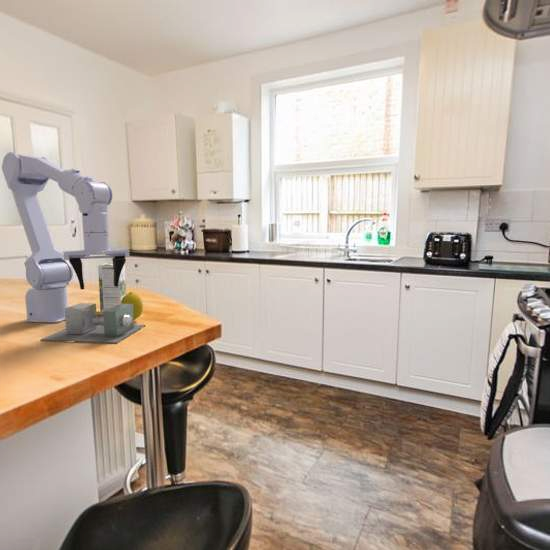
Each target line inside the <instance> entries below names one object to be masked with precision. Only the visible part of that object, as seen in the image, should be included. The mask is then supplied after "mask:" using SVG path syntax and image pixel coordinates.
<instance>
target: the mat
mask: <svg viewBox="0 0 550 550" xmlns="http://www.w3.org/2000/svg"><path fill="white" fill-rule="evenodd" d="M144 326H145V327H146V325H145V324H134V328H133V329H132V330H130V331H128V332H127V333H125V334H123V335H121V336H120V337H118V338H107V337H105V333H104V326H97V328H95V329H93V330H91V331H89V332H87V333H85V334H67V333H66V328H64V329H61V330H59V331H57V332H55V333H52V334H50V335H48V336H46V337H45V336H44V337H42V338H41V339H40V341H41V342H59V341H74V342H73V343H87V342H94V343H93V344H114V343H117V344H118V342H119V343H121V342H122V341H123V340H125V339H127V338H128V337H130V336H132V335H134V334H135V333H136V331H137V330H138V331H139V329H140V330H142V329H143V328H145V327H144ZM142 327H143V328H142ZM141 328H142V329H141ZM138 331H137V332H138ZM134 332H135V333H134ZM131 334H132V335H131ZM126 337H127V338H126Z"/></svg>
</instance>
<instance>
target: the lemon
mask: <svg viewBox="0 0 550 550" xmlns="http://www.w3.org/2000/svg"><path fill="white" fill-rule="evenodd" d="M121 304H133V316H134V321H136V319H138V318H140V316H141V315H142V314H143V307H144V304H143V300H142V299H141V297H140V296H139V295H138V294H136V293H134V292H133V291H130V292H129V293H126V295H125V296H124V297H123V298H122V300H121Z"/></svg>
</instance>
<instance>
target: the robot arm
mask: <svg viewBox="0 0 550 550" xmlns="http://www.w3.org/2000/svg"><path fill="white" fill-rule="evenodd" d="M1 169H2V174H3V176H4V180H5V182H6V185H7V187H8V189H9V190H10V191H11V193H12V196H13V199H14V203H15V205H16V209H17V211H18V213H19V217H20V221H21V224H22V227H23V230H24V232H25V236H26V238H27V242H28V244H29V248H30V251H31V255H30V256H29V257H27V259H26V260H25V262H24V266H25V277H26V281H27V283H28V284H29V286H31V287H30V288H28V289H27V291H26V293H25V298H24V299H25V308H26V317H27V318H26V319H25V320H24V322H29V323H60V322H63V321H65V308H68V307H69V302H68V288H67V286H69V285H70V282H71V281H72V279H73V275H74V273H75V275H76V277H77V279H78V282H79V288H80V290H85V282H84V276H83V275H84V274H83V261H82V260H86V259H88V260H89V259H90V260H91V259H108V258H109V259H110V258H112V259H111V260H112V263H113V269H114V286H115V287H118V283H119V278H120V274H121V271H122V268H123V266H124V264H125V265H126V261H127V260H126V258H130V249H128V248H124V249H123V248H121V249H118V248H117V249H112V248H111V246H110V245H111V244H110V227H109V224H110V223H109V211H108V209H109V208H108V206H110V204H111V203H112V201H113V191H112V188H111V187H110V185H109V184H107V183H106V182H104V181H100V182H96V181H95V180H93V179H94V178H93V177H91V176H86V175H84V174H81V170H79V169H77V168H71V169H63V168H62V167H60V166H59V165H57V164H56V163H54V162H53V161H52V159H50V158H49V159H48V158H47V157H44V156H42V157H40V156H34V155H26V154H21V153H15V152H10V151H9V152H7V153H6V154H5V155H4V157H3V160H2V165H1ZM49 180H51V181H54V182H56V183H57V186H58V187H59V189H60V190H61V191H63V192H65V193H66V194H69V196H70V195H71V197H74V199H75V202H76V203H77V205H78V211H79V212H80V213H81V220H82V221H81V222H82V223H81V224H82V238H83V248H84V249H81V250H68V251H67V250H65V251H64V250H63V252H60V251H59V250H57V249H56V248H55V246H54V243H53V240H52V237H51V235H50V231H49V228H48V226H47V223H46V220H45V217H44V214H43V211H42V207H41V205H40V202H39V199H38V196H37V195H38V193H40V192H42V191H43V190H44V189H45V187H46V185H47V184H48V182H49ZM73 270H74V271H73Z"/></svg>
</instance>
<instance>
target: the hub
mask: <svg viewBox="0 0 550 550" xmlns="http://www.w3.org/2000/svg"><path fill="white" fill-rule="evenodd" d="M95 312H97V303H89V302H88V303H87V302H86V303H85V302H80V303H77V304H74V305H72V306H68V308H65V320H64V321H65V329H66V333H67V334H85V333H87V332H89V331H91V330H93V329H95V328H97V326H96V325H93V323H92V318H93V316H94V315H95Z"/></svg>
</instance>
